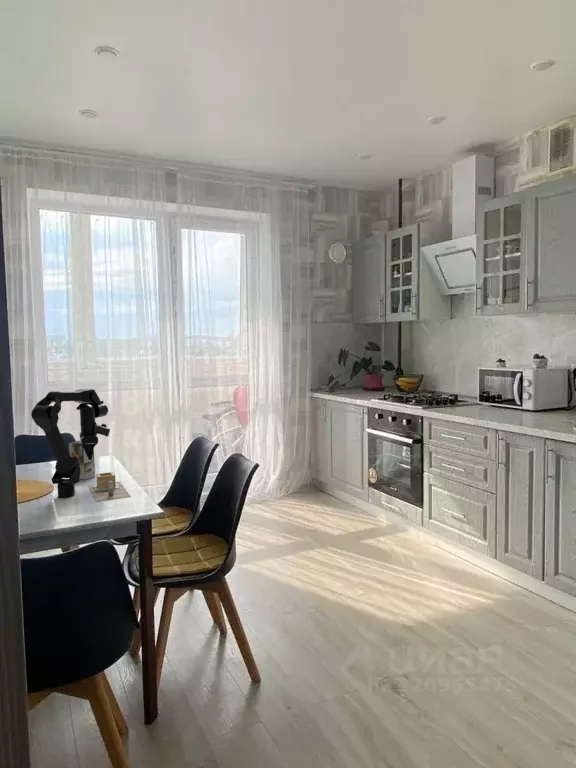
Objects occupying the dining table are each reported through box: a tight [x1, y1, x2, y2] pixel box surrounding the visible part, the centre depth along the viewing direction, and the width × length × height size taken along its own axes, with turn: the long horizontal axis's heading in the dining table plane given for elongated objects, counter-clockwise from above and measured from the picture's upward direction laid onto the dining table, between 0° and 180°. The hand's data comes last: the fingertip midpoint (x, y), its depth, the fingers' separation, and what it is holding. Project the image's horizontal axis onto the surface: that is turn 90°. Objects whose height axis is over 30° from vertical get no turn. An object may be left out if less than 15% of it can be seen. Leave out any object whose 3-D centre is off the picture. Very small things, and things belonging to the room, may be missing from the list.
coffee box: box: [68, 440, 96, 481], centre depth 254 cm, size 9×6×16 cm
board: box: [87, 481, 132, 503], centre depth 224 cm, size 28×13×6 cm, turn 25°
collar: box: [95, 471, 116, 489], centre depth 231 cm, size 6×6×5 cm
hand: (89, 457), depth 232 cm, fingers open, 9 cm apart
